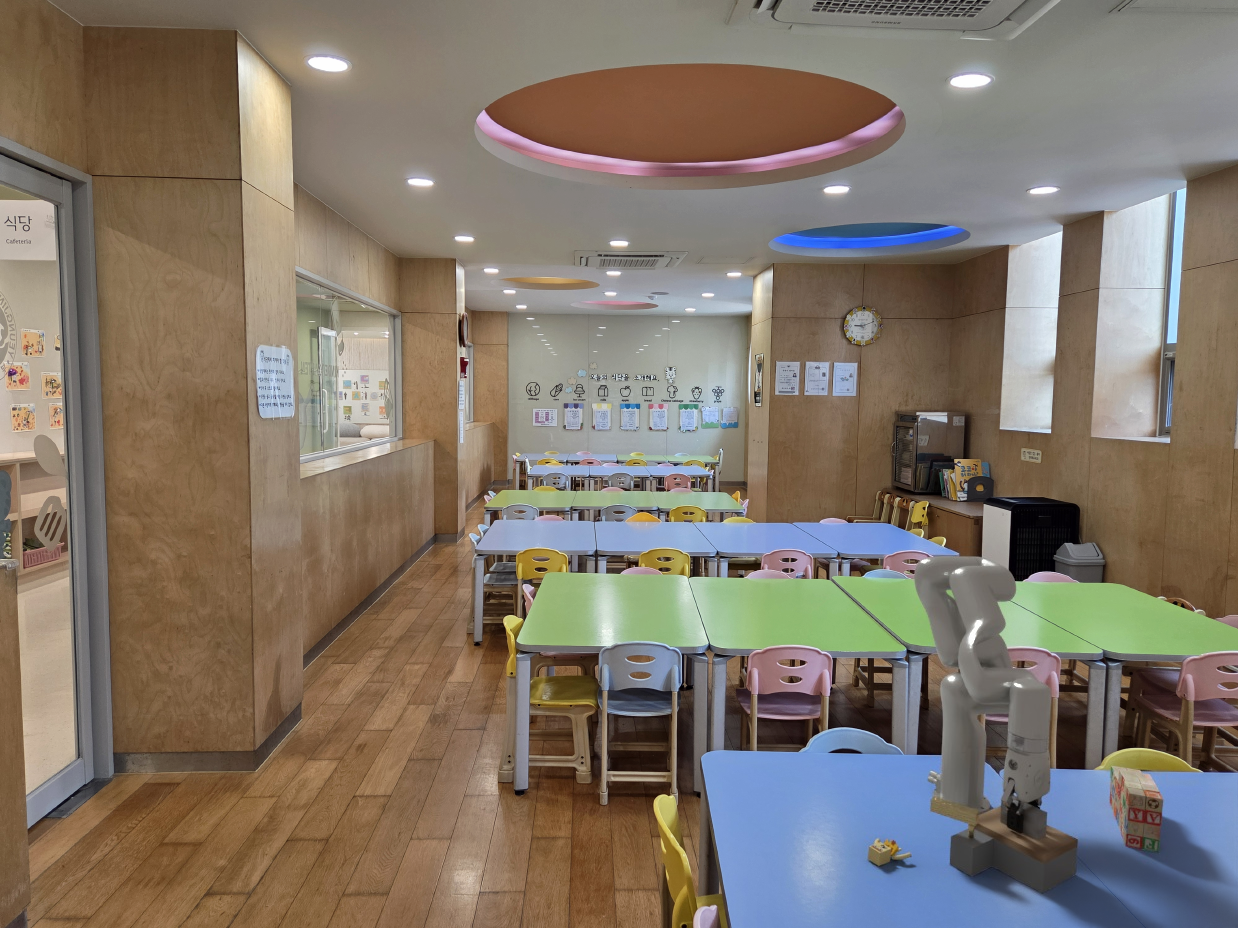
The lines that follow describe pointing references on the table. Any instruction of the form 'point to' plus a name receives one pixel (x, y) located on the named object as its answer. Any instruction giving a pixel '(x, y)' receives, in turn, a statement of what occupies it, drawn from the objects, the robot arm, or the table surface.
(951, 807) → the brass bar
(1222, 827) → the table surface
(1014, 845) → the walnut lid
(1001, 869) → the grey l-shaped block
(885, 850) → the character toy
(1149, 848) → the stack of blocks
